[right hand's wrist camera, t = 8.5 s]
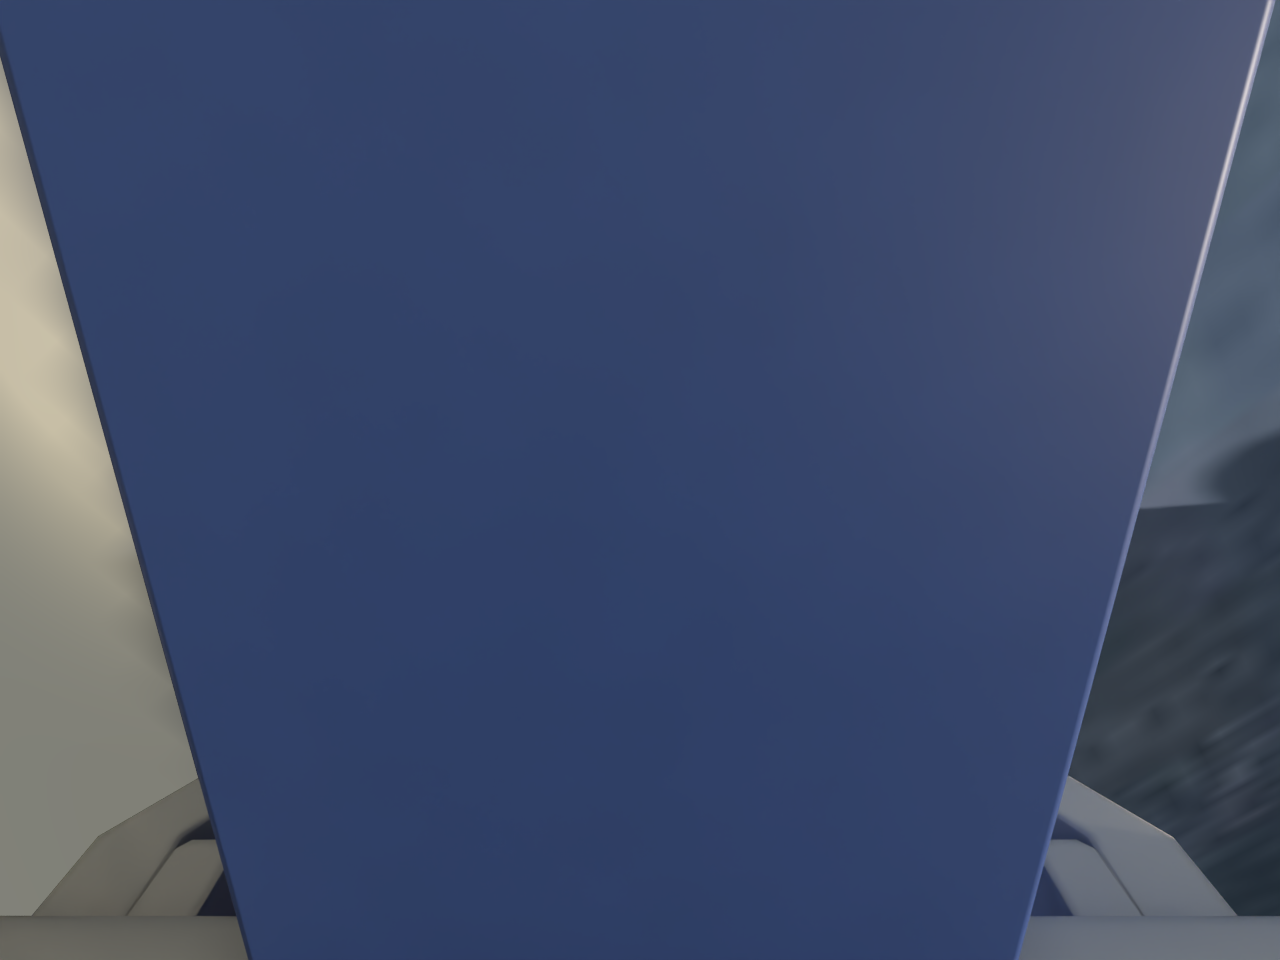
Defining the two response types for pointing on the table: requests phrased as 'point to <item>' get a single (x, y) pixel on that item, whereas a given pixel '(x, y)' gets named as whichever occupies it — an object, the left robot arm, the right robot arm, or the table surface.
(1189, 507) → the table surface
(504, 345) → the bar
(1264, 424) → the table surface
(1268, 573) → the table surface
